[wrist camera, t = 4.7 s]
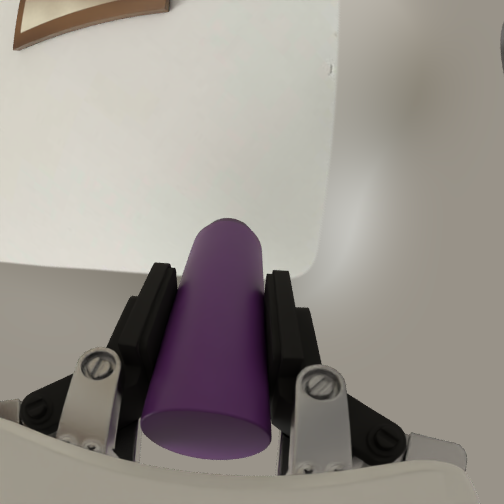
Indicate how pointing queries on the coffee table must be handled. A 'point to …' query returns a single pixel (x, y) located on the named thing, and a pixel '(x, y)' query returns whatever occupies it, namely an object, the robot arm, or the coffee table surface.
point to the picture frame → (74, 16)
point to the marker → (214, 353)
